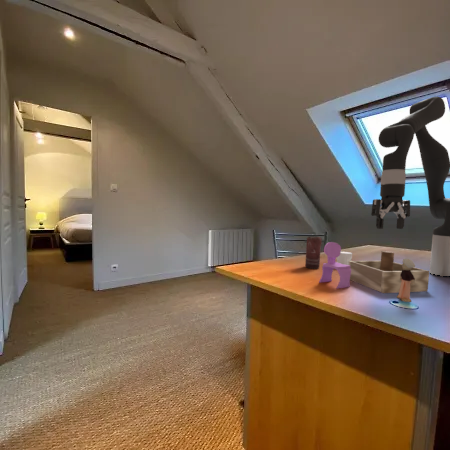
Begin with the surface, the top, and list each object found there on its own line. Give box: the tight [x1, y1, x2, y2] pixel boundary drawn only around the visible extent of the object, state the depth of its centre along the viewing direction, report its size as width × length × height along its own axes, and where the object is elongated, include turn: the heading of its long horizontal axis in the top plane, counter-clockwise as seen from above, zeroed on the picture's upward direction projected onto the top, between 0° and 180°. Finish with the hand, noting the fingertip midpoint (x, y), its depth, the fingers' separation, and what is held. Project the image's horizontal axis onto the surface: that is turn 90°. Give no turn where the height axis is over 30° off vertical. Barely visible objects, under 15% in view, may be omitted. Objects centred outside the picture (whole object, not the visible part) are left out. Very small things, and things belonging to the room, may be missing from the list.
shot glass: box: [336, 250, 353, 265], centre depth 133 cm, size 7×7×7 cm
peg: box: [380, 250, 395, 271], centre depth 103 cm, size 4×4×12 cm
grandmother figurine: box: [396, 258, 416, 303], centre depth 86 cm, size 8×4×13 cm, turn 5°
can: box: [304, 236, 323, 270], centre depth 129 cm, size 6×6×14 cm
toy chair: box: [318, 241, 351, 289], centre depth 101 cm, size 8×9×15 cm
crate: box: [349, 260, 430, 294], centre depth 104 cm, size 18×18×7 cm
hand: (389, 228), depth 102 cm, fingers open, 8 cm apart
